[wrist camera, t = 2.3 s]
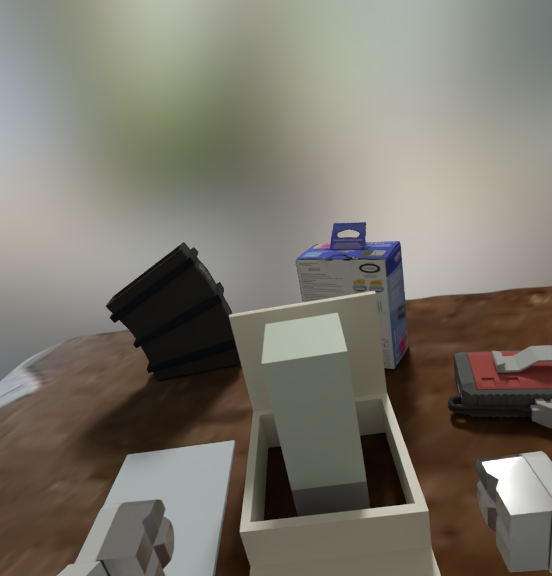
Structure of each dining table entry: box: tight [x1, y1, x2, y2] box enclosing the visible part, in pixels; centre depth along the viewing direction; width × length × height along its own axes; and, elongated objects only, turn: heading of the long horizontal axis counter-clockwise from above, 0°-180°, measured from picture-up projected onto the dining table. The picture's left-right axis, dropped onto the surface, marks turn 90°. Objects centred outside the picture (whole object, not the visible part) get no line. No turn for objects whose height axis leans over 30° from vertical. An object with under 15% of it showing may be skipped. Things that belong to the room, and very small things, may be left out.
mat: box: [103, 440, 235, 576], centre depth 33 cm, size 10×12×1 cm
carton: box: [229, 291, 441, 576], centre depth 27 cm, size 11×16×12 cm
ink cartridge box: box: [296, 222, 409, 369], centre depth 45 cm, size 10×6×14 cm, turn 60°
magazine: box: [106, 242, 241, 381], centre depth 49 cm, size 4×13×15 cm, turn 93°
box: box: [261, 313, 371, 517], centre depth 29 cm, size 5×5×13 cm
